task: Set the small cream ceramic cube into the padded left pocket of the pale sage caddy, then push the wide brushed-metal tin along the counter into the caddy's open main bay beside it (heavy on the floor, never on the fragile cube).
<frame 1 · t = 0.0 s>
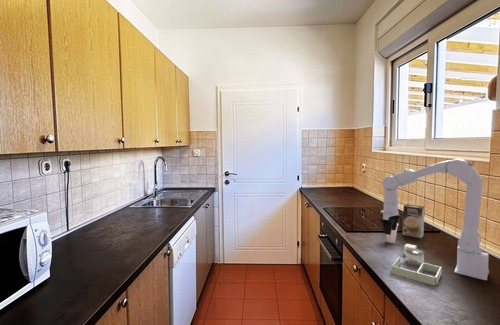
hand: (390, 232, 123), 10 cm above the worktop, fingers open, 7 cm apart
caddy: (416, 273, 105), on the worktop
smoothie: (391, 242, 138), on the worktop
pad: (428, 277, 102), on the worktop
tin: (414, 262, 115), on the worktop
cube: (410, 254, 123), on the worktop
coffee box: (413, 235, 147), on the worktop
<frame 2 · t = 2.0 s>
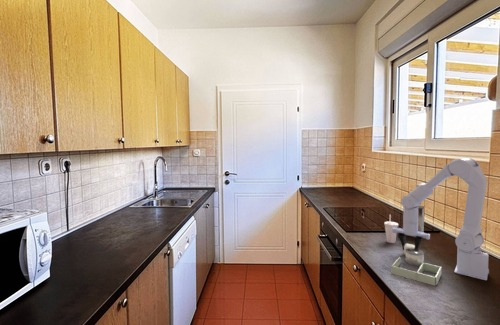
hand: (410, 251, 123), 1 cm above the worktop, fingers closed on cube, 4 cm apart
cube: (410, 254, 123), on the worktop, touching gripper
everything else where it was.
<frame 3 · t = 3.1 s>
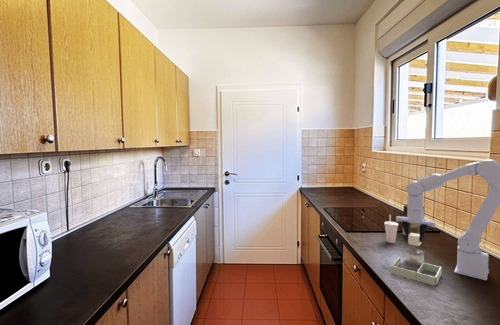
hand: (414, 240, 117), 8 cm above the worktop, fingers closed on cube, 4 cm apart
cube: (414, 243, 117), point 7 cm above the worktop, touching gripper
everything else where it was.
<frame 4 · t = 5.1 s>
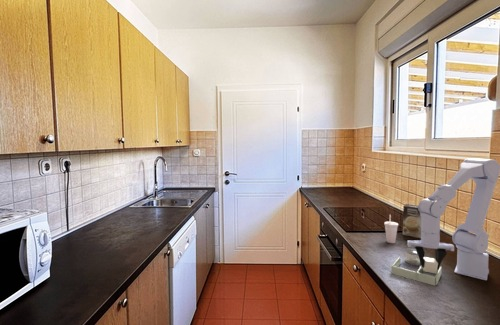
hand: (429, 267, 102), 4 cm above the worktop, fingers closed on cube, 4 cm apart
cube: (428, 269, 102), point 3 cm above the worktop, tilted 6°, touching caddy, gripper
everything else where it was.
when the fingers open (4 cm above the worktop, at t = 5.2 s): cube stays where it is, resting on caddy.
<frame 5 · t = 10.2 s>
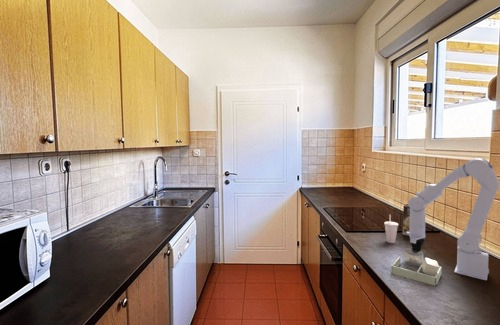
hand: (416, 254, 117), 2 cm above the worktop, fingers closed
tin: (414, 262, 114), on the worktop, touching gripper
cube: (428, 270, 102), point 2 cm above the worktop, tilted 17°, touching caddy
everything else where it was.
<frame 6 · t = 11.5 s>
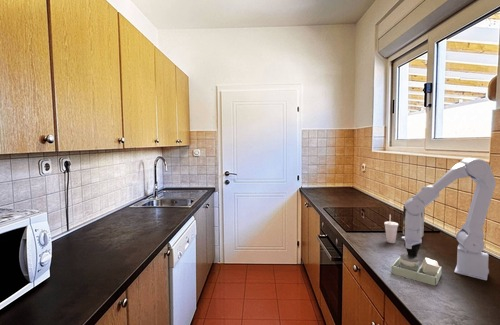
hand: (412, 260, 112), 2 cm above the worktop, fingers closed
tin: (409, 269, 109), on the worktop, touching gripper
everything else where it was.
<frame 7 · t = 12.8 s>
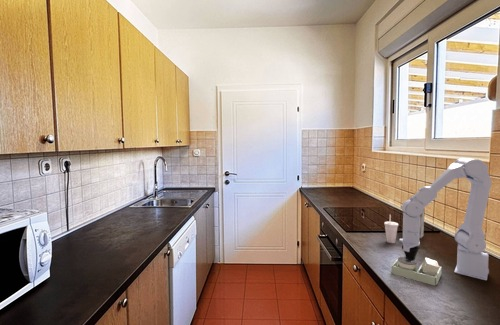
hand: (410, 263, 109), 2 cm above the worktop, fingers closed
tin: (407, 272, 106), on the worktop, touching gripper
everything else where it was.
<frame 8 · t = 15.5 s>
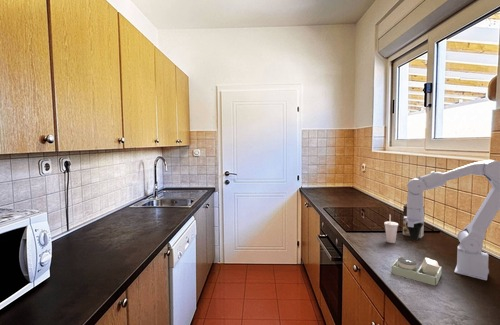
hand: (414, 240, 113), 10 cm above the worktop, fingers closed
tin: (407, 272, 106), on the worktop
everything else where it was.
at the end: tin inside the target area (0.2 cm from its centre), on the worktop; cube inside the target area (0.5 cm from its centre), point 2.2 cm above the worktop; cube tilted 17° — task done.
